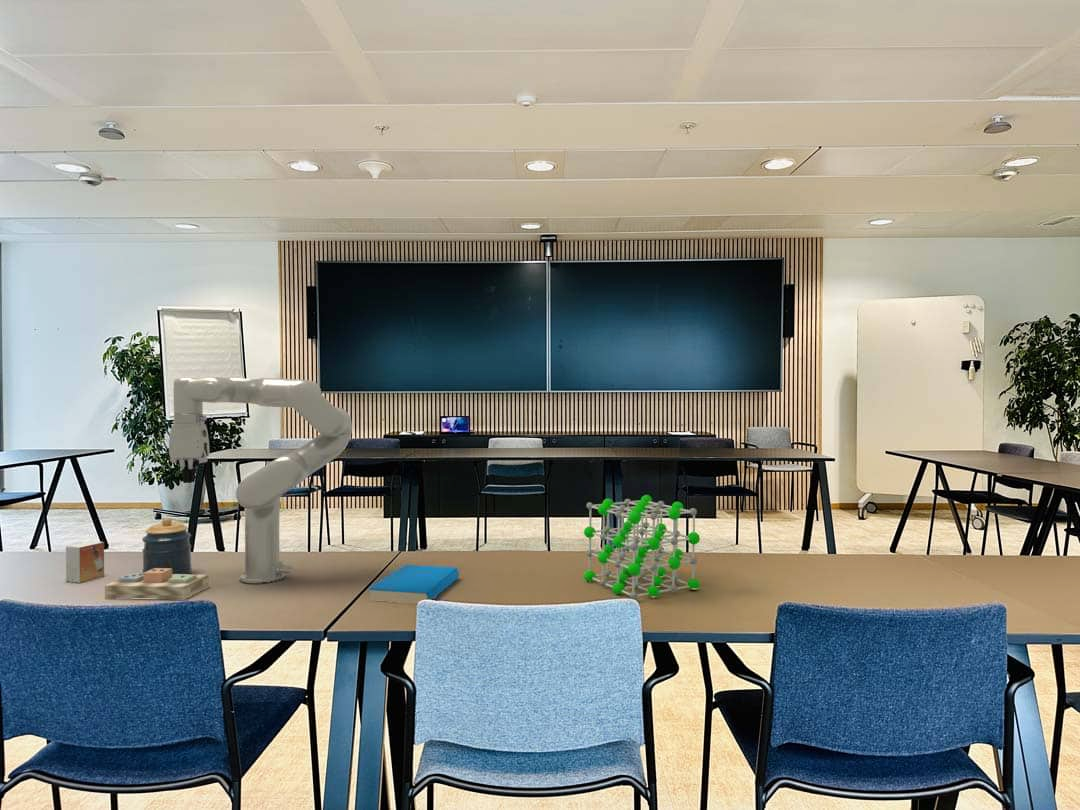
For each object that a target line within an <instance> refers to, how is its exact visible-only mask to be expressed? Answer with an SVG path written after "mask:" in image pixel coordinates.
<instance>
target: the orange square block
mask: <svg viewBox="0 0 1080 810" xmlns="http://www.w3.org/2000/svg"><path fill="white" fill-rule="evenodd" d="M170 578H172V568H154V569H152V570H149V571H147V572H144V583H163V582H165V581H167V580H168V579H170Z"/></svg>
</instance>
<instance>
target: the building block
mask: <svg viewBox="0 0 1080 810" xmlns="http://www.w3.org/2000/svg"><path fill="white" fill-rule="evenodd" d="M118 580H119V582H128V583H137V582H140V581H142V580H144V574H143V573H138V574H137V573H132V572H131V573H129V574H127V575H126V574H125V575H124V576H121V577H119V578H118Z"/></svg>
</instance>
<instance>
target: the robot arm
mask: <svg viewBox="0 0 1080 810" xmlns="http://www.w3.org/2000/svg"><path fill="white" fill-rule="evenodd" d="M320 387H321V386H319V384H318V383H317V382H315V381H313V380H309V379H291V378H278V377H277V378H276V377H275V378H274V377H261V378H234V377H233V378H232V377H222V376H221V377H220V376H209V377H201V378H198V377H177V378H175V379H174V381H173V424H172V425H171V428H170V432H169V438H168V439H169V440H168V454H169V457H170V458H169V462H171V463H173V464H177V465H178V466H179V467H180V470H182V474H181V475H182V481H183V483H184V484H192V483H194V482H195V481H196V469H197V468H198V467H199V465H201V464H202V463H207V462H208V457H209V456H210V451H211V450H210V439H209V433H208V428H207V425H206V424H205V423H204V421H207V419H208V417H207V416H206V415H204V413H203V412H204V411H203V407H204V405H203V403H210V404H212V403H213V404H214V403H215V404H216V403H233V404H234V403H237V404H238V403H239V404H241V403H242V404H252V405H254V404H255V405H257V406H261V407H267V408H268V407H269V408H270V407H272V408H291V409H292V408H293V409H294V410H295V411H296V412H297V414H299V416H301V417H302V418H303V419H304V420H305V421H306V422H307V423H308V424H310V426H311V427H312V428H313V429H314V430H315V431H317V432H318V435H317V436H316V437H314V438H312V439H311V440H309V441H308V442H306V443H305V444H303V445H301V446H300V447H298V448H297V449H295V450H293V451H291V452H289V453H286V454H282V455H281V456H279V457H276V459H273V460H272V461H271V462H269V463H267V464H266V465H264V466H262V467H261V468H259V469H258V470H256V471H255V472H253V473H252V474H250V475H248V476H246V477H245V478H244V479H242V480H241V481H240V482H239V484H238V485H237V487H236V491H235V498H236V500H237V502H238V504H239V505H240V506H241V507H243V508H245V511H244V573H242V574H240V575H239V581H240V582H241V581H242V582H241V583H244V582H246V583H245V584H263V583H262V582H267V583H271V581H272V582H275V580H276V581H280V580H282V579H283V578H285V576H286V574H292V573H293V566H292V565H285V564H284V560H280V557H281V556H280V555H281V554H280V506H281V496H282V495H284V494H286V493H288V492H289V491H290V490H291V489H294V488H295V487H297V486H299V485H300V484H301V483H303V482H304V481H305V480H306V479H307V478H308V477H310V476H311V475H312V474H313V473H316V471H318V470H320V469H321V468H323V467H324V466H325V465H327V464H329V463H330V462H331V461H333V460H335V459H336V458H337V457H338V456H339V455H340V454H342V453H343V451H344V450H345V449H346V447H347V446H348V444H349V442H350V439H351V437H352V431H353V424H352V418H351V416H350V414H349V413H348V412H347V411H346V410H345V409H343V408H341V407H336V406H335V405H333V404H332V403H331V402H330V401H329V400H328V399H327V398H326V397H325V396H324V395H323V394H322V390H321V389H322V388H320ZM281 578H282V579H281ZM279 579H280V580H279Z"/></svg>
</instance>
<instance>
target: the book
mask: <svg viewBox="0 0 1080 810" xmlns="http://www.w3.org/2000/svg"><path fill="white" fill-rule="evenodd" d="M459 576H460V573H459V569H458V567H452V566H439V565H438V566H434V565H433V566H432V565H420V564H419V565H418V564H405V565H403V566H401V567H399V568H398V569H397V570H395V571H393V572H392V573H390V574H389V575H387V576H385V577H384V578H382V579H380V580H379V581H377V582H376V583H374V584H373V585H371V586H370V587H368V590H369V600H370V599H372V600H387V601H402V602H413V603H414V602H416V603H417V602H418V601H420V600H424V599H433V598H434V597H435V596H436V595H438V594H439V593H440V592H442V591H443V590H444V589H445V588H446V589H447V587H448V586H449V585H450V586H452V584H454V583H455V582H456V581H457V580H458V579H459ZM455 580H456V581H455ZM454 581H455V582H454ZM453 582H454V583H453ZM450 586H449V587H450ZM449 587H448V588H449ZM446 589H445V590H446ZM445 590H444V591H445ZM444 591H443V592H444ZM443 592H442V593H443ZM439 595H440V594H439ZM439 595H438V596H439ZM433 600H434V599H433Z"/></svg>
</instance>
